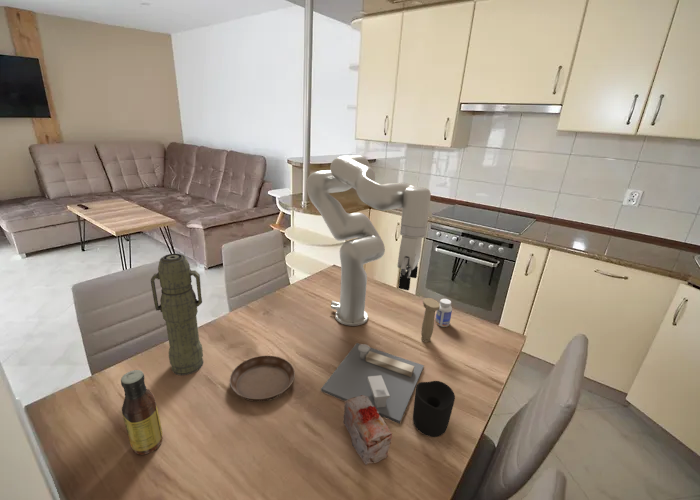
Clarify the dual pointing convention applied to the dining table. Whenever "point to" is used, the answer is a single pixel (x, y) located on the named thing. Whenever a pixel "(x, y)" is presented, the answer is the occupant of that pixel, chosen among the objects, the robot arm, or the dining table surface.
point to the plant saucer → (262, 378)
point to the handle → (429, 318)
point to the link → (390, 363)
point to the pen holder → (432, 407)
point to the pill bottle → (444, 313)
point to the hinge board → (360, 385)
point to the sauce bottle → (140, 414)
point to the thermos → (179, 312)
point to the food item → (367, 429)
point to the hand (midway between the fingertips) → (407, 282)
